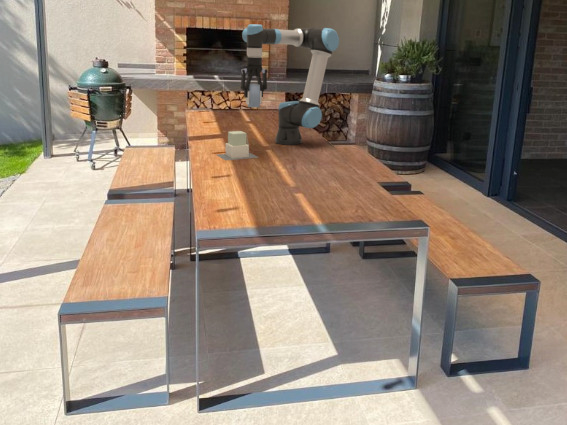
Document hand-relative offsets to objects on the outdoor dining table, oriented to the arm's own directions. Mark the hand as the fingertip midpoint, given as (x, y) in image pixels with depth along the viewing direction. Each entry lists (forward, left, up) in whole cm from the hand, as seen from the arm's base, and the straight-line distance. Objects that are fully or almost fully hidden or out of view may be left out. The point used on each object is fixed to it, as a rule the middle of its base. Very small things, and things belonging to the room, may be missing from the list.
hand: (253, 103), depth 325 cm
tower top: (+10, +3, -19) cm, 22 cm away
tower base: (+10, +3, -25) cm, 28 cm away
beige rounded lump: (0, -16, -27) cm, 31 cm away
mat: (+10, +3, -26) cm, 28 cm away
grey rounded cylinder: (0, 0, -1) cm, 1 cm away
